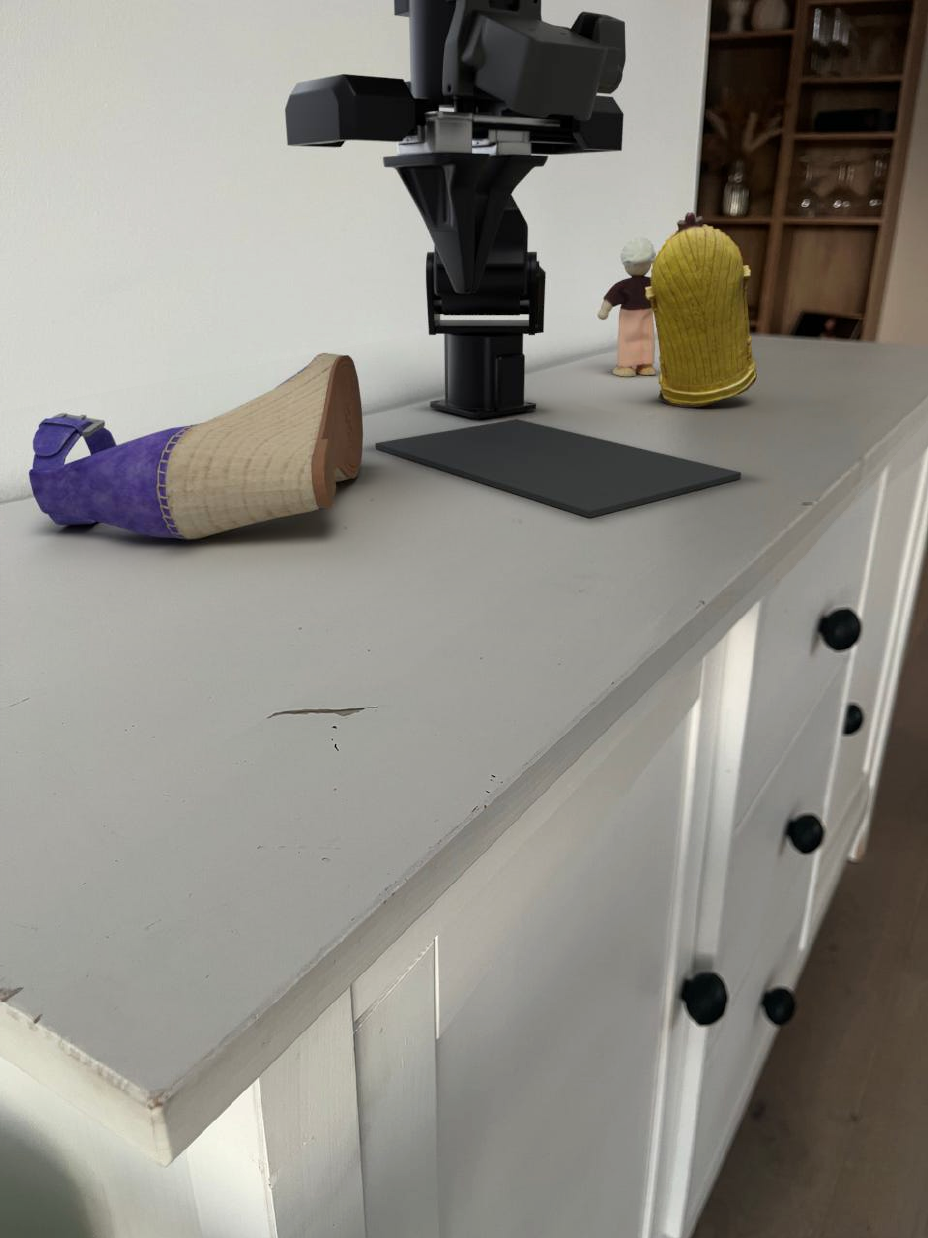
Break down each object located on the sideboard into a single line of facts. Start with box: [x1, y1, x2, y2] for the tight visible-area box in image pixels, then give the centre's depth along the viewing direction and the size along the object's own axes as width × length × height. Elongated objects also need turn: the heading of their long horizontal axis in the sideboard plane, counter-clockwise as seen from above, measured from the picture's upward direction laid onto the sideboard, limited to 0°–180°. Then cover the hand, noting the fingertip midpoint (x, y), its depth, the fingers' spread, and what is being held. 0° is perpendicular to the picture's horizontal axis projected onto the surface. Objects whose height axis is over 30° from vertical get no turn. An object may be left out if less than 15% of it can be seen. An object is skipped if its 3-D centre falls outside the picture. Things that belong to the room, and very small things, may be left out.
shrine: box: [645, 211, 757, 408], centre depth 78 cm, size 12×8×15 cm
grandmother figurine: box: [597, 237, 657, 378], centre depth 94 cm, size 8×4×13 cm, turn 115°
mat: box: [374, 418, 742, 519], centre depth 63 cm, size 21×13×1 cm, turn 38°
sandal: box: [28, 352, 364, 541], centre depth 55 cm, size 8×20×15 cm
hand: (466, 292), depth 55 cm, fingers closed
